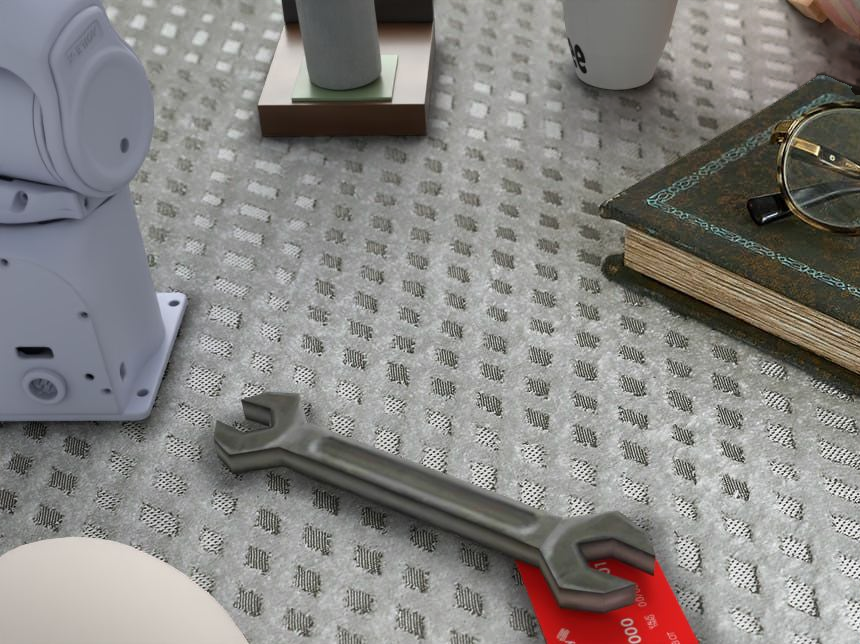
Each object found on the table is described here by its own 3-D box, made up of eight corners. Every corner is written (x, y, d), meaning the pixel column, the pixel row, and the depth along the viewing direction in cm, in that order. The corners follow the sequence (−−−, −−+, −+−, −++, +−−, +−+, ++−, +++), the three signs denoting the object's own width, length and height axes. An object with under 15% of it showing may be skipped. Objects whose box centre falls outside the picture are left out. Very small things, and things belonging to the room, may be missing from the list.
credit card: (512, 552, 47) (512, 551, 47) (639, 526, 48) (639, 525, 48) (577, 723, 41) (577, 722, 41) (721, 689, 42) (721, 688, 42)
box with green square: (426, 135, 72) (423, 77, 70) (262, 136, 72) (252, 79, 70) (435, 45, 82) (433, -8, 79) (290, 46, 82) (283, -7, 79)
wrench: (615, 614, 43) (189, 439, 50) (615, 642, 44) (200, 467, 51) (673, 522, 45) (260, 369, 53) (671, 551, 47) (268, 397, 54)
